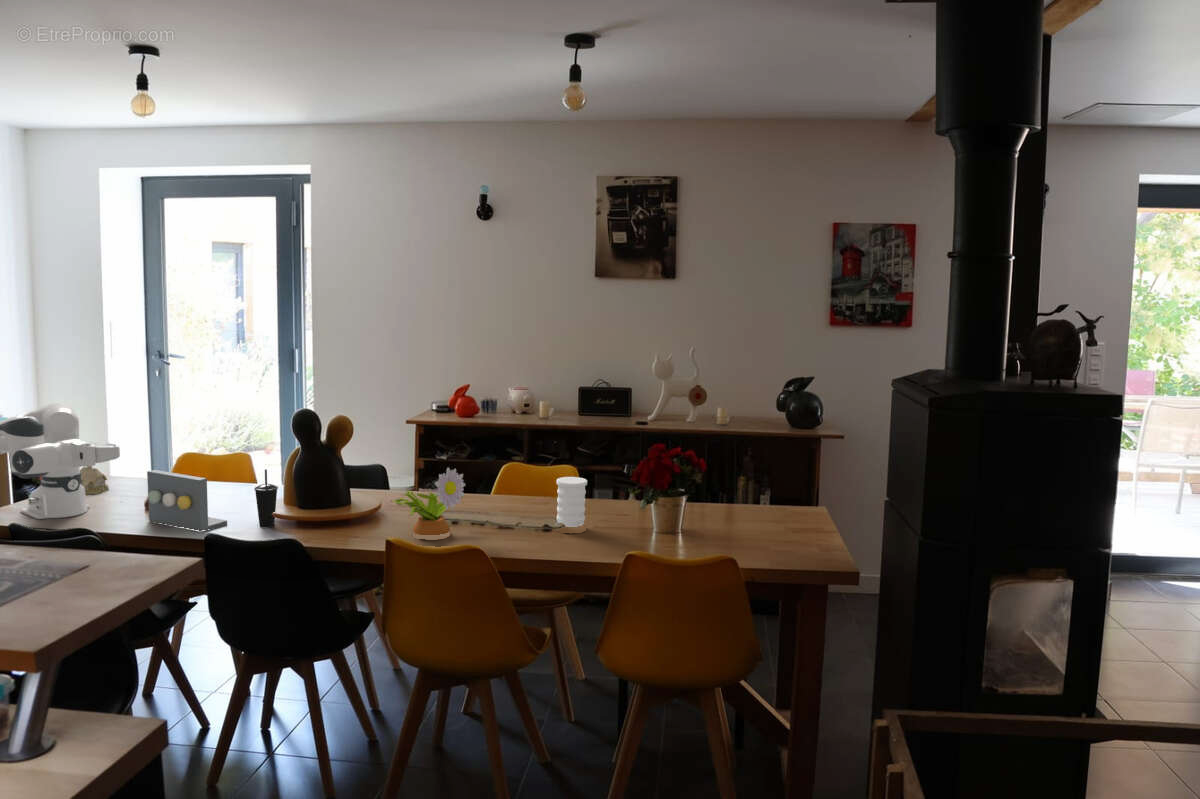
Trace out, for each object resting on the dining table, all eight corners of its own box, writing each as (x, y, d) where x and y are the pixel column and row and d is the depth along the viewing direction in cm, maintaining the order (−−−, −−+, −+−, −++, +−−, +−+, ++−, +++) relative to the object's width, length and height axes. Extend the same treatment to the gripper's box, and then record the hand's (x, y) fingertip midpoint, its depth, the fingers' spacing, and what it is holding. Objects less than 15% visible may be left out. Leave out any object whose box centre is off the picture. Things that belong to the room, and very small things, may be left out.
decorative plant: (427, 549, 284) (427, 474, 280) (377, 535, 297) (377, 463, 294) (484, 531, 306) (485, 461, 302) (434, 519, 319) (435, 452, 316)
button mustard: (177, 508, 294) (177, 495, 294) (182, 507, 296) (182, 494, 296) (186, 510, 293) (186, 497, 292) (191, 509, 294) (191, 496, 294)
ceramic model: (115, 489, 348) (114, 464, 347) (91, 495, 338) (89, 470, 337) (89, 485, 353) (88, 461, 352) (64, 491, 343) (62, 466, 341)
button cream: (162, 505, 297) (162, 493, 297) (167, 504, 299) (167, 491, 298) (172, 507, 295) (171, 494, 295) (177, 506, 297) (176, 493, 297)
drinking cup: (254, 529, 300) (252, 472, 297) (256, 523, 307) (255, 467, 305) (277, 528, 302) (276, 471, 299) (279, 522, 309) (278, 466, 307)
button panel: (149, 522, 305) (147, 471, 302) (176, 514, 315) (174, 465, 312) (201, 532, 295) (199, 480, 292) (227, 524, 305) (225, 474, 302)
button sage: (148, 503, 300) (147, 490, 300) (153, 501, 302) (153, 489, 301) (157, 504, 298) (156, 492, 298) (162, 503, 300) (162, 490, 300)
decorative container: (558, 535, 305) (559, 484, 302) (551, 525, 316) (552, 477, 313) (590, 533, 308) (591, 483, 305) (582, 524, 319) (583, 476, 316)
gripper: (50, 459, 276) (92, 452, 289) (94, 467, 268) (135, 459, 280) (49, 439, 275) (91, 433, 288) (93, 446, 267) (134, 440, 279)
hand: (113, 446), depth 284 cm, fingers closed
